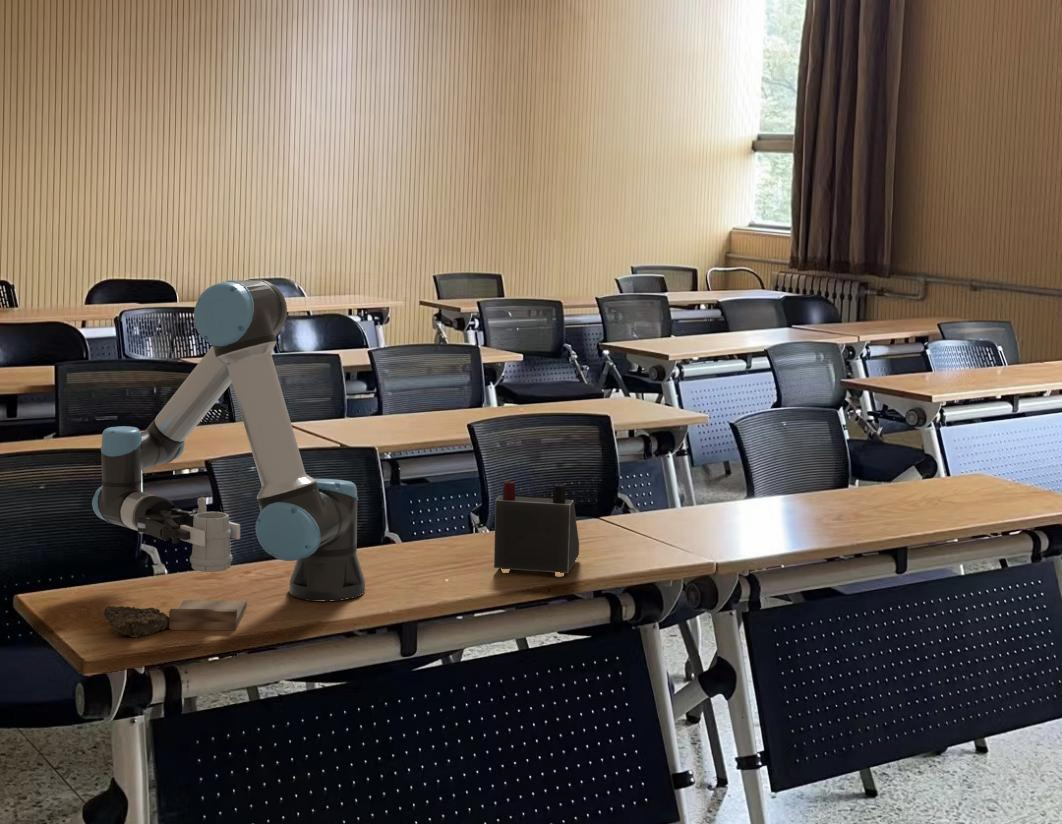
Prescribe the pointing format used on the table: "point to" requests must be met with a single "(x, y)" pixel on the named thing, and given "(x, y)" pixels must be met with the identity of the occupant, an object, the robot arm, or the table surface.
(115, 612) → the concrete sample
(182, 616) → the rest board
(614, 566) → the table surface
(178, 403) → the robot arm
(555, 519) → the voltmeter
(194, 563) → the mug
